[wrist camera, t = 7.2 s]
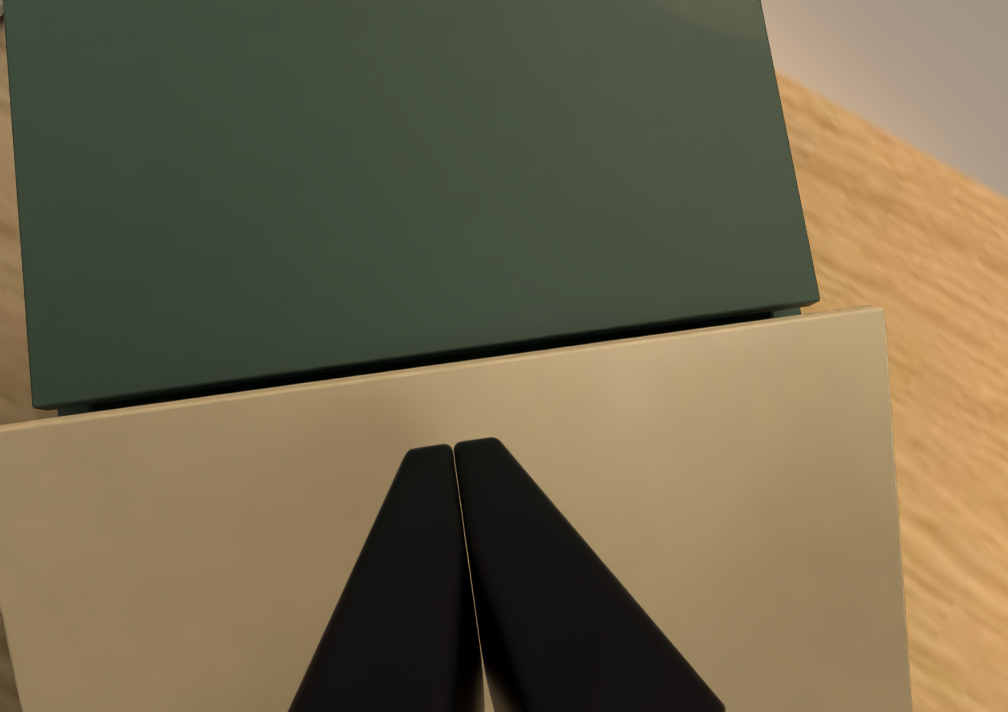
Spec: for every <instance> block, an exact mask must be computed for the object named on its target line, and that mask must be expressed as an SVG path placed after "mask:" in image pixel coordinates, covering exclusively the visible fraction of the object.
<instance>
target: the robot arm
mask: <svg viewBox="0 0 1008 712" xmlns="http://www.w3.org/2000/svg"><path fill="white" fill-rule="evenodd" d="M454 458H455V462H454ZM455 465H456V469H455ZM456 473H457V477H456ZM457 480H458V484H457ZM458 487H459V491H458ZM459 494H460V498H459ZM460 501H461V505H460ZM461 509H462V513H461ZM462 516H463V520H462ZM463 523H464V527H463ZM464 530H465V534H464ZM465 538H466V541H465ZM466 545H467V549H466ZM467 552H468V556H467ZM468 559H469V563H468ZM469 566H470V570H469ZM470 574H471V578H470ZM471 581H472V585H471ZM472 588H473V592H472ZM473 595H474V599H473ZM474 602H475V606H474ZM475 610H476V614H475ZM476 617H477V621H476ZM477 624H478V628H477ZM478 631H479V635H478ZM479 638H480V643H479ZM480 646H481V650H480ZM481 652H482V658H483V664H484V670H485V676H486V680H487V684H488V689H489V693H490V697H491V701H492V705H493V709H494V712H725V711H726V707H725V705H724V704H723V703H722V701H721V700H720V699H719V698H718V697H717V695H716V694H715V693H714V692H713V691H712V690H711V688H710V687H709V686H708V685H707V684H706V683H705V681H704V680H703V679H702V678H701V677H700V675H699V674H698V673H697V672H696V671H695V670H694V668H693V667H692V666H691V665H690V664H689V662H688V661H687V660H686V659H685V658H684V657H683V655H682V654H681V653H680V652H679V651H678V649H677V648H676V647H675V646H674V645H673V644H672V642H671V641H670V640H669V639H668V638H667V637H666V635H665V634H664V633H663V632H662V631H661V629H660V628H659V627H658V626H657V625H656V624H655V622H654V621H653V620H652V619H651V618H650V616H649V615H648V614H647V613H646V612H645V611H644V609H643V608H642V607H641V606H640V605H639V604H638V602H637V601H636V600H635V599H634V598H633V596H632V595H631V594H630V593H629V592H628V591H627V589H626V588H625V587H624V586H623V585H622V583H621V582H620V581H619V580H618V579H617V578H616V576H615V575H614V574H613V573H612V572H611V571H610V569H609V568H608V567H607V566H606V565H605V563H604V562H603V561H602V560H601V559H600V558H599V556H598V555H597V554H596V553H595V552H594V550H593V549H592V548H591V547H590V546H589V545H588V543H587V542H586V541H585V540H584V539H583V538H582V536H581V535H580V534H579V533H578V532H577V530H576V529H575V528H574V527H573V526H572V525H571V523H570V522H569V521H568V520H567V519H566V517H565V516H564V515H563V514H562V513H561V512H560V510H559V509H558V508H557V507H556V506H555V504H554V503H553V502H552V501H551V500H550V499H549V497H548V496H547V495H546V494H545V493H544V492H543V490H542V489H541V488H540V487H539V486H538V484H537V483H536V482H535V481H534V480H533V479H532V477H531V476H530V475H529V474H528V473H527V471H526V470H525V469H524V468H523V467H522V466H521V464H520V463H519V462H518V461H517V460H516V459H515V457H514V456H513V455H512V454H511V453H510V451H509V450H508V449H507V448H506V447H505V446H504V444H503V443H502V442H501V441H500V440H499V439H497V438H495V437H487V438H480V439H473V440H466V441H460V442H458V443H456V444H455V446H454V455H453V450H452V448H451V446H450V445H448V444H439V445H432V446H425V447H418V448H413V449H410V450H409V451H407V453H406V454H405V456H404V458H403V460H402V462H401V464H400V466H399V468H398V471H397V473H396V475H395V477H394V479H393V482H392V484H391V486H390V488H389V490H388V493H387V495H386V497H385V499H384V501H383V503H382V506H381V508H380V510H379V512H378V514H377V517H376V519H375V521H374V523H373V525H372V528H371V530H370V532H369V534H368V536H367V539H366V541H365V543H364V545H363V547H362V550H361V552H360V554H359V556H358V558H357V561H356V563H355V565H354V567H353V569H352V572H351V574H350V576H349V578H348V580H347V582H346V585H345V587H344V589H343V591H342V593H341V596H340V598H339V600H338V602H337V604H336V607H335V609H334V611H333V613H332V615H331V618H330V620H329V622H328V624H327V626H326V629H325V631H324V633H323V635H322V637H321V640H320V642H319V644H318V646H317V648H316V651H315V653H314V655H313V657H312V659H311V661H310V664H309V666H308V668H307V670H306V672H305V675H304V677H303V679H302V681H301V683H300V686H299V688H298V690H297V692H296V694H295V697H294V699H293V701H292V703H291V705H290V708H289V710H288V712H485V701H484V679H483V668H482V659H481Z"/></svg>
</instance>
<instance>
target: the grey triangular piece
mask: <svg viewBox="0 0 1008 712" xmlns="http://www.w3.org/2000/svg"><path fill="white" fill-rule="evenodd" d="M3 13H4V9H3V0H0V17H1V16H2V14H3Z"/></svg>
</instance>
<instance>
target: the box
mask: <svg viewBox="0 0 1008 712" xmlns="http://www.w3.org/2000/svg"><path fill="white" fill-rule="evenodd" d="M3 9H4V22H5V36H6V50H7V64H8V77H9V91H10V105H11V119H12V132H13V146H14V160H15V174H16V187H17V201H18V215H19V228H20V242H21V256H22V270H23V283H24V297H25V311H26V325H27V338H28V352H29V366H30V380H31V393H32V406H33V408H35V409H41V410H47V411H48V410H55V409H57V412H58V417H61V416H69V415H76V414H83V413H91V412H98V411H105V410H112V409H120V408H127V407H134V406H141V405H149V404H156V403H163V402H170V401H178V400H185V399H192V398H199V397H207V396H214V395H221V394H228V393H236V392H243V391H250V390H257V389H265V388H272V387H279V386H286V385H294V384H301V383H308V382H315V381H323V380H330V379H337V378H344V377H352V376H359V375H366V374H373V373H381V372H388V371H395V370H402V369H410V368H417V367H424V366H432V365H439V364H446V363H453V362H461V361H468V360H475V359H482V358H490V357H497V356H504V355H511V354H519V353H526V352H533V351H540V350H548V349H555V348H562V347H569V346H577V345H584V344H591V343H598V342H606V341H613V340H620V339H627V338H635V337H642V336H649V335H656V334H664V333H671V332H678V331H685V330H693V329H700V328H707V327H714V326H722V325H729V324H736V323H743V322H751V321H758V320H765V319H773V318H780V317H787V316H794V315H801V311H800V307H806V306H810V305H812V304H814V303H816V302H818V301H819V300H820V296H819V291H818V286H817V281H816V276H815V271H814V266H813V261H812V256H811V251H810V246H809V241H808V236H807V231H806V226H805V221H804V216H803V211H802V206H801V201H800V196H799V191H798V186H797V181H796V176H795V171H794V166H793V161H792V156H791V151H790V146H789V141H788V136H787V131H786V126H785V121H784V116H783V111H782V106H781V101H780V96H779V91H778V86H777V81H776V76H775V71H774V66H773V61H772V56H771V51H770V46H769V41H768V36H767V31H766V26H765V21H764V16H763V11H762V6H761V1H760V0H3Z"/></svg>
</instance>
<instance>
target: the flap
mask: <svg viewBox="0 0 1008 712" xmlns="http://www.w3.org/2000/svg"><path fill="white" fill-rule="evenodd" d="M487 437H495V438H497V439H499V440H500V441H501V442H502V443H503V444H504V446H505V447H506V448H507V449H508V450H509V451H510V453H511V454H512V455H513V456H514V457H515V459H516V460H517V461H518V462H519V463H520V464H521V466H522V467H523V468H524V469H525V470H526V471H527V473H528V474H529V475H530V476H531V477H532V479H533V480H534V481H535V482H536V483H537V484H538V486H539V487H540V488H541V489H542V490H543V492H544V493H545V494H546V495H547V496H548V497H549V499H550V500H551V501H552V502H553V503H554V504H555V506H556V507H557V508H558V509H559V510H560V512H561V513H562V514H563V515H564V516H565V517H566V519H567V520H568V521H569V522H570V523H571V525H572V526H573V527H574V528H575V529H576V530H577V532H578V533H579V534H580V535H581V536H582V538H583V539H584V540H585V541H586V542H587V543H588V545H589V546H590V547H591V548H592V549H593V550H594V552H595V553H596V554H597V555H598V556H599V558H600V559H601V560H602V561H603V562H604V563H605V565H606V566H607V567H608V568H609V569H610V571H611V572H612V573H613V574H614V575H615V576H616V578H617V579H618V580H619V581H620V582H621V583H622V585H623V586H624V587H625V588H626V589H627V591H628V592H629V593H630V594H631V595H632V596H633V598H634V599H635V600H636V601H637V602H638V604H639V605H640V606H641V607H642V608H643V609H644V611H645V612H646V613H647V614H648V615H649V616H650V618H651V619H652V620H653V621H654V622H655V624H656V625H657V626H658V627H659V628H660V629H661V631H662V632H663V633H664V634H665V635H666V637H667V638H668V639H669V640H670V641H671V642H672V644H673V645H674V646H675V647H676V648H677V649H678V651H679V652H680V653H681V654H682V655H683V657H684V658H685V659H686V660H687V661H688V662H689V664H690V665H691V666H692V667H693V668H694V670H695V671H696V672H697V673H698V674H699V675H700V677H701V678H702V679H703V680H704V681H705V683H706V684H707V685H708V686H709V687H710V688H711V690H712V691H713V692H714V693H715V694H716V695H717V697H718V698H719V699H720V700H721V701H722V703H723V704H724V705H725V707H726V711H725V712H912V697H911V683H910V669H909V654H908V640H907V625H906V611H905V597H904V582H903V568H902V554H901V539H900V525H899V510H898V496H897V482H896V467H895V453H894V438H893V424H892V410H891V395H890V381H889V367H888V352H887V338H886V323H885V310H884V308H883V307H877V306H868V305H867V306H860V307H852V308H845V309H838V310H831V311H823V312H816V313H809V314H802V315H794V316H787V317H780V318H773V319H765V320H758V321H751V322H743V323H736V324H729V325H722V326H714V327H707V328H700V329H693V330H685V331H678V332H671V333H664V334H656V335H649V336H642V337H635V338H627V339H620V340H613V341H606V342H598V343H591V344H584V345H577V346H569V347H562V348H555V349H548V350H540V351H533V352H526V353H519V354H511V355H504V356H497V357H490V358H482V359H475V360H468V361H461V362H453V363H446V364H439V365H432V366H424V367H417V368H410V369H402V370H395V371H388V372H381V373H373V374H366V375H359V376H352V377H344V378H337V379H330V380H323V381H315V382H308V383H301V384H294V385H286V386H279V387H272V388H265V389H257V390H250V391H243V392H236V393H228V394H221V395H214V396H207V397H199V398H192V399H185V400H178V401H170V402H163V403H156V404H149V405H141V406H134V407H127V408H120V409H112V410H105V411H98V412H91V413H83V414H76V415H69V416H61V417H54V418H47V419H40V420H32V421H25V422H18V423H11V424H3V425H0V611H1V615H2V620H3V625H4V629H5V634H6V639H7V643H8V648H9V653H10V657H11V662H12V667H13V672H14V676H15V681H16V686H17V690H18V695H19V700H20V704H21V709H22V712H288V710H289V708H290V705H291V703H292V701H293V699H294V697H295V694H296V692H297V690H298V688H299V686H300V683H301V681H302V679H303V677H304V675H305V672H306V670H307V668H308V666H309V664H310V661H311V659H312V657H313V655H314V653H315V651H316V648H317V646H318V644H319V642H320V640H321V637H322V635H323V633H324V631H325V629H326V626H327V624H328V622H329V620H330V618H331V615H332V613H333V611H334V609H335V607H336V604H337V602H338V600H339V598H340V596H341V593H342V591H343V589H344V587H345V585H346V582H347V580H348V578H349V576H350V574H351V572H352V569H353V567H354V565H355V563H356V561H357V558H358V556H359V554H360V552H361V550H362V547H363V545H364V543H365V541H366V539H367V536H368V534H369V532H370V530H371V528H372V525H373V523H374V521H375V519H376V517H377V514H378V512H379V510H380V508H381V506H382V503H383V501H384V499H385V497H386V495H387V493H388V490H389V488H390V486H391V484H392V482H393V479H394V477H395V475H396V473H397V471H398V468H399V466H400V464H401V462H402V460H403V458H404V456H405V454H406V453H407V451H409V450H410V449H413V448H418V447H425V446H432V445H439V444H448V445H450V446H451V448H452V450H453V455H454V446H455V444H456V443H458V442H460V441H466V440H473V439H480V438H487ZM454 462H455V458H454ZM455 469H456V465H455ZM456 477H457V473H456ZM457 484H458V480H457ZM458 491H459V487H458ZM459 498H460V494H459ZM460 505H461V501H460ZM461 513H462V509H461ZM462 520H463V516H462ZM463 527H464V523H463ZM464 534H465V530H464ZM465 541H466V538H465ZM466 549H467V545H466ZM467 556H468V552H467ZM468 563H469V559H468ZM469 570H470V566H469ZM470 578H471V574H470ZM471 585H472V581H471ZM472 592H473V588H472ZM473 599H474V595H473ZM474 606H475V602H474ZM475 614H476V610H475ZM476 621H477V617H476ZM477 628H478V624H477ZM478 635H479V631H478ZM479 643H480V638H479ZM480 650H481V646H480ZM481 659H482V668H483V679H484V701H485V712H494V709H493V705H492V701H491V697H490V693H489V689H488V684H487V680H486V676H485V670H484V664H483V658H482V652H481Z"/></svg>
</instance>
